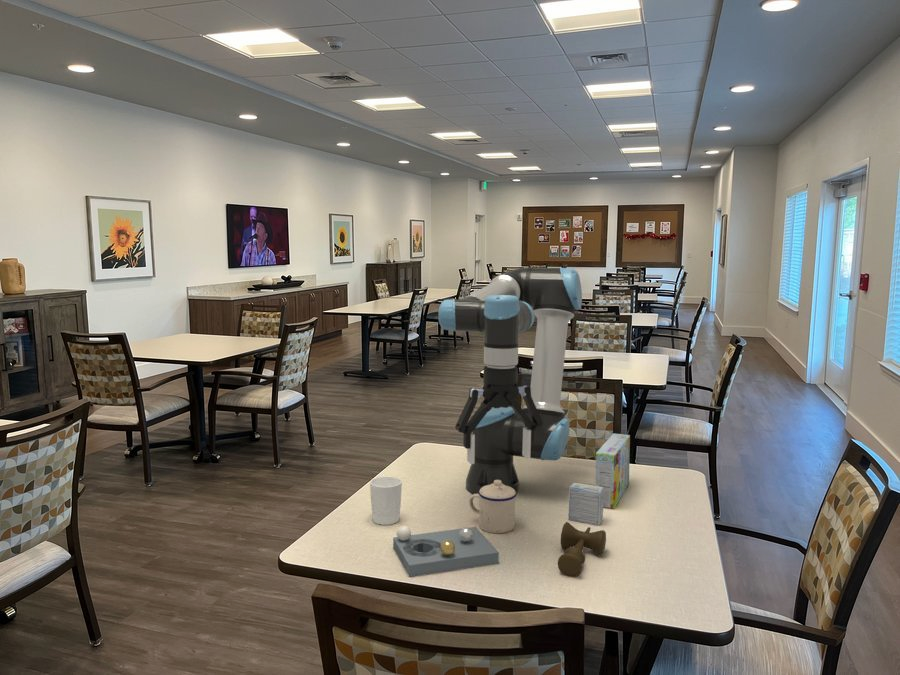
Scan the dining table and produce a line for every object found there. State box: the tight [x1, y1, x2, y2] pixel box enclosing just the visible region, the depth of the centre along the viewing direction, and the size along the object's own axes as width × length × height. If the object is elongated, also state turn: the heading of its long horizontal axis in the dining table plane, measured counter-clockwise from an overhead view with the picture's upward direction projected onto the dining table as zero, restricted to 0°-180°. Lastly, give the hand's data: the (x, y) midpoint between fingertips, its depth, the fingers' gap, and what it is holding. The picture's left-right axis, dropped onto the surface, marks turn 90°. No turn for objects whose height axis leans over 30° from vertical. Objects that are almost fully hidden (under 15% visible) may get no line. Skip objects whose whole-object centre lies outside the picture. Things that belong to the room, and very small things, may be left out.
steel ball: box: [459, 526, 473, 542], centre depth 146 cm, size 3×3×3 cm
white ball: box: [396, 525, 412, 541], centre depth 146 cm, size 3×3×3 cm
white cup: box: [369, 475, 403, 526], centre depth 163 cm, size 8×8×10 cm
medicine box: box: [567, 482, 604, 526], centre depth 164 cm, size 8×4×9 cm, turn 65°
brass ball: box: [440, 540, 455, 556], centre depth 139 cm, size 3×3×3 cm
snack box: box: [595, 433, 631, 510], centre depth 181 cm, size 21×6×15 cm, turn 154°
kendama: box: [557, 521, 607, 578], centre depth 144 cm, size 6×10×20 cm
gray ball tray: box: [392, 526, 500, 578], centre depth 144 cm, size 20×14×2 cm
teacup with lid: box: [468, 480, 517, 534], centre depth 160 cm, size 12×9×12 cm
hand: (498, 459), depth 146 cm, fingers open, 13 cm apart
